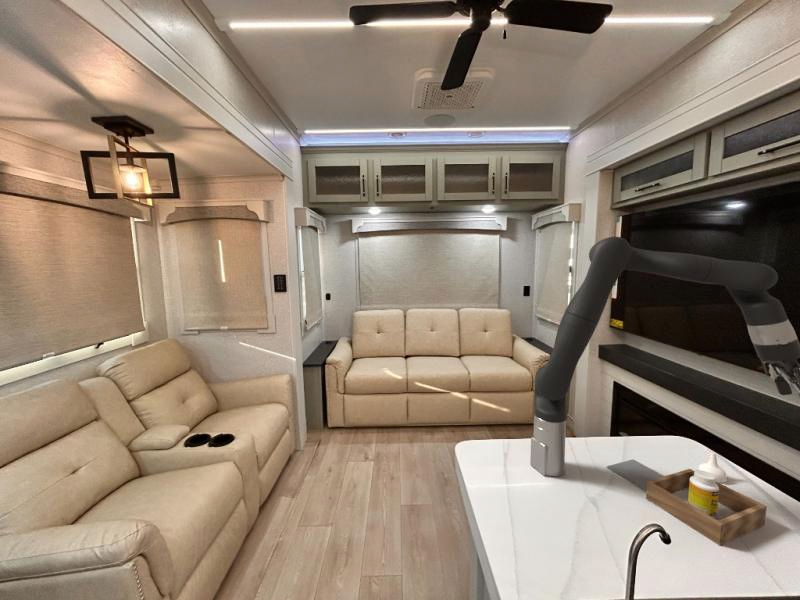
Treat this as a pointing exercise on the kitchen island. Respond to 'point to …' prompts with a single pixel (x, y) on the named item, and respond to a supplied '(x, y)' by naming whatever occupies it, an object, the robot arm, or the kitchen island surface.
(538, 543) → the kitchen island surface
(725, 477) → the garlic bulb
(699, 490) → the supplement bottle
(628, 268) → the robot arm
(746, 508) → the crate frame
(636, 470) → the mat
